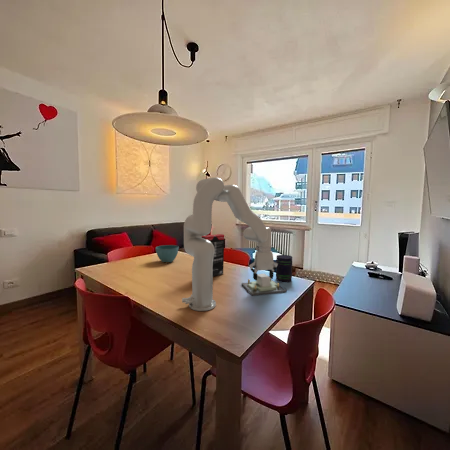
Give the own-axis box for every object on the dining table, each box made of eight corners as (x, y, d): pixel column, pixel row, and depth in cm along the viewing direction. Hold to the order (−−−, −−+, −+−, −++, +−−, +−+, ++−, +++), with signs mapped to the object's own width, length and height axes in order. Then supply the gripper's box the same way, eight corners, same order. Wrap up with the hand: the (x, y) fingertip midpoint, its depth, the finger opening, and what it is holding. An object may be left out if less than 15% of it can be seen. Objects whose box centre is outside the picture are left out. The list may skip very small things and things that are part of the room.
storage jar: (291, 278, 147) (292, 255, 146) (291, 283, 138) (292, 259, 136) (276, 276, 150) (276, 254, 148) (275, 281, 141) (275, 257, 139)
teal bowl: (151, 264, 180) (151, 248, 178) (161, 258, 197) (161, 244, 196) (173, 265, 177) (173, 249, 175) (181, 259, 194) (181, 245, 193)
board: (255, 292, 121) (255, 280, 120) (245, 284, 132) (245, 273, 131) (281, 288, 126) (281, 277, 125) (270, 281, 137) (270, 271, 137)
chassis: (252, 295, 119) (252, 288, 118) (241, 285, 134) (241, 278, 134) (286, 291, 124) (286, 284, 124) (272, 282, 140) (272, 275, 139)
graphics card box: (217, 271, 160) (217, 233, 157) (224, 274, 155) (224, 234, 152) (198, 277, 148) (198, 235, 145) (205, 279, 143) (205, 236, 140)
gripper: (252, 251, 121) (251, 282, 123) (281, 249, 126) (280, 279, 127) (246, 248, 128) (246, 278, 130) (274, 247, 133) (273, 275, 135)
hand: (263, 278), depth 129 cm, fingers open, 9 cm apart
